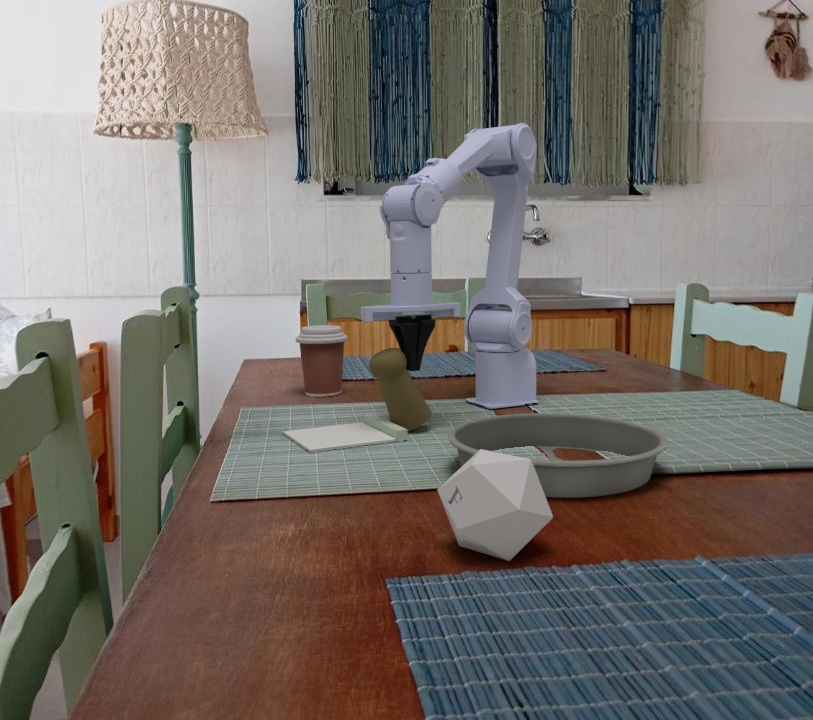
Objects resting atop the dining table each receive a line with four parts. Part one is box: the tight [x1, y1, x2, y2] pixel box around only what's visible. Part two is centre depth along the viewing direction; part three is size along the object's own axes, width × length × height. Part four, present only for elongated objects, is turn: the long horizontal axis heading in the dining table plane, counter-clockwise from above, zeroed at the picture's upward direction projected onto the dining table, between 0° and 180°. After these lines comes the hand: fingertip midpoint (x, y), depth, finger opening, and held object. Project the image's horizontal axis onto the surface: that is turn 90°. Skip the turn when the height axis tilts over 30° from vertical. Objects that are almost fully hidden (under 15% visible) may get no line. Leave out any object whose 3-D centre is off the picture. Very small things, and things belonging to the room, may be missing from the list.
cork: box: [368, 347, 433, 432], centre depth 114 cm, size 6×6×11 cm
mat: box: [282, 421, 397, 454], centre depth 111 cm, size 12×12×1 cm
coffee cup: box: [295, 324, 348, 396], centre depth 144 cm, size 9×9×12 cm
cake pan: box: [447, 412, 669, 499], centre depth 93 cm, size 25×25×4 cm
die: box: [437, 449, 554, 562], centre depth 69 cm, size 8×9×10 cm
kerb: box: [362, 413, 409, 442], centre depth 114 cm, size 2×12×2 cm, turn 25°
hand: (412, 370), depth 115 cm, fingers closed
